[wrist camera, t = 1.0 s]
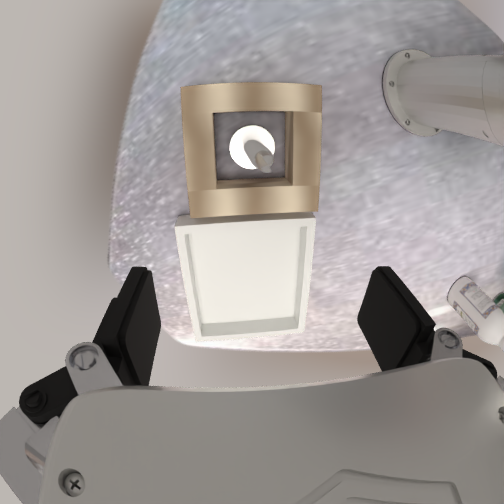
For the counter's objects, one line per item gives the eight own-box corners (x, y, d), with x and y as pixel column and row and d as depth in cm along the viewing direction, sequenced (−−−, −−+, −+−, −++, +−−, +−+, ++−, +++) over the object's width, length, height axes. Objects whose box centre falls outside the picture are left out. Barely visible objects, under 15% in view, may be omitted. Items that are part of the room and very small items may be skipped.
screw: (245, 173, 32) (220, 140, 30) (279, 150, 31) (256, 116, 29) (259, 210, 20) (219, 157, 18) (313, 174, 19) (277, 118, 17)
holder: (310, 88, 27) (321, 85, 24) (307, 200, 34) (317, 211, 31) (185, 90, 26) (180, 86, 23) (193, 206, 33) (190, 218, 29)
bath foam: (458, 303, 48) (508, 363, 31) (441, 302, 47) (495, 369, 29) (473, 277, 45) (529, 335, 28) (457, 273, 44) (518, 337, 26)
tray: (307, 207, 35) (315, 218, 31) (298, 317, 43) (304, 332, 40) (178, 215, 33) (174, 226, 30) (196, 325, 42) (195, 341, 39)
